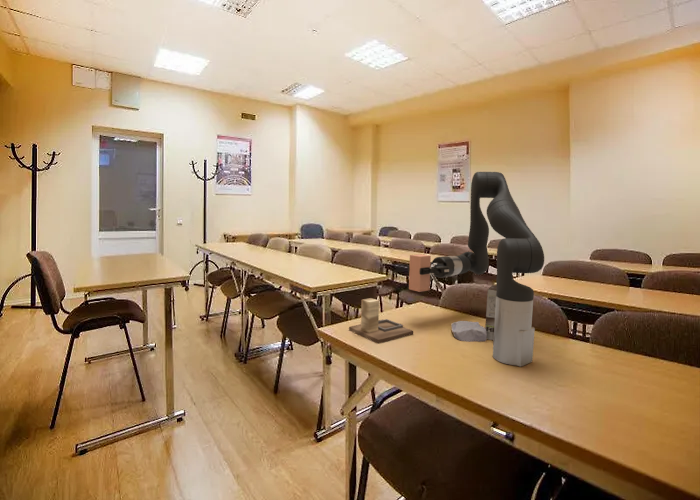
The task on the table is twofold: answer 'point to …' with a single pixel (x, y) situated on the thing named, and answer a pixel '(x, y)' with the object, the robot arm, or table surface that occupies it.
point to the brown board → (382, 333)
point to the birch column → (369, 315)
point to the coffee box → (490, 312)
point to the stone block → (468, 331)
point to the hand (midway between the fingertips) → (414, 270)
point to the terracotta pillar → (415, 279)
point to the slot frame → (390, 327)
